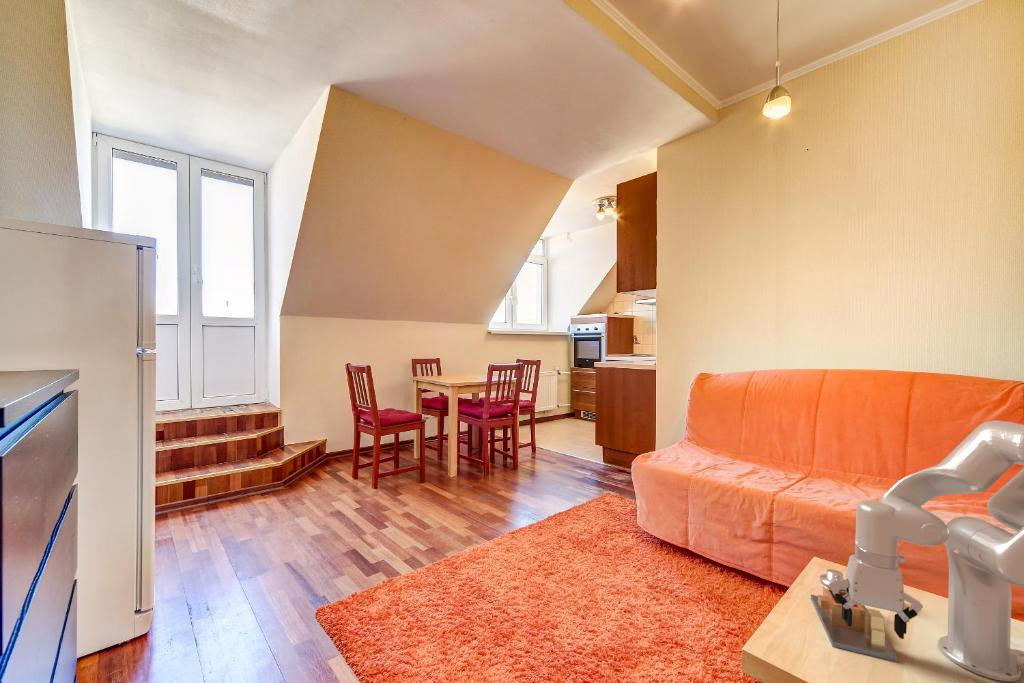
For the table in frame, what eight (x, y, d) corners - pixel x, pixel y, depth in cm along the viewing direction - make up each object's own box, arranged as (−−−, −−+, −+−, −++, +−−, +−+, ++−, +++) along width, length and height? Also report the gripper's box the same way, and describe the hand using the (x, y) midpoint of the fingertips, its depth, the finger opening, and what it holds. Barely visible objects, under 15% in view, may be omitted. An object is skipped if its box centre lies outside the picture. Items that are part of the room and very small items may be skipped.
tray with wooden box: (861, 606, 116) (862, 572, 116) (897, 662, 96) (898, 621, 96) (809, 595, 120) (809, 563, 120) (832, 646, 100) (833, 607, 100)
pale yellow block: (877, 638, 101) (878, 609, 101) (884, 649, 98) (885, 619, 98) (865, 635, 102) (865, 606, 102) (871, 646, 99) (872, 616, 99)
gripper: (915, 557, 100) (912, 629, 100) (826, 541, 107) (823, 609, 107) (931, 573, 93) (928, 651, 93) (835, 555, 100) (832, 628, 100)
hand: (872, 628), depth 100 cm, fingers open, 9 cm apart
